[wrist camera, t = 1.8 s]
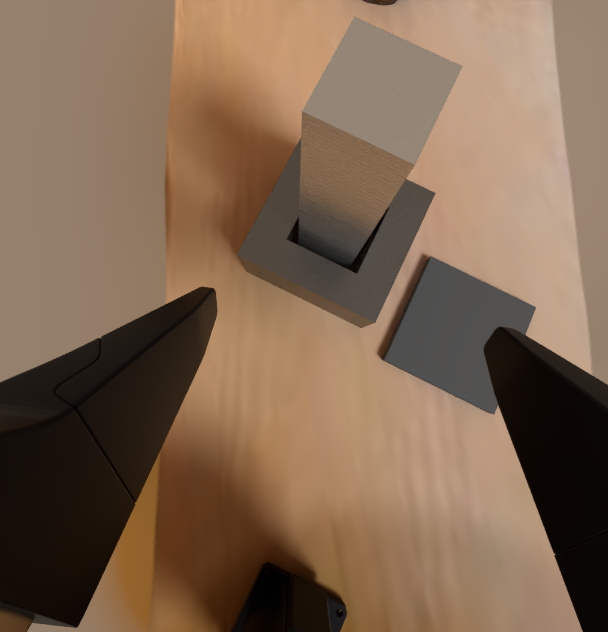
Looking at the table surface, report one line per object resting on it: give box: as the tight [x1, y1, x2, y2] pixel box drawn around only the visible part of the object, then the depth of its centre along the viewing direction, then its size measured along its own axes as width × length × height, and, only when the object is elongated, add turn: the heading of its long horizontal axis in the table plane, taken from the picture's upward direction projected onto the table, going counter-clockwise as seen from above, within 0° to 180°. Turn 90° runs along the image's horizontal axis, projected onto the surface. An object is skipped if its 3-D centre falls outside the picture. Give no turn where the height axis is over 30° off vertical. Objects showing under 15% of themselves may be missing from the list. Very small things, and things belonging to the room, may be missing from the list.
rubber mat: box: [382, 257, 536, 414], centre depth 22 cm, size 9×9×1 cm
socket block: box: [237, 139, 435, 328], centre depth 21 cm, size 10×10×4 cm
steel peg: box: [298, 17, 462, 269], centre depth 16 cm, size 4×4×14 cm
